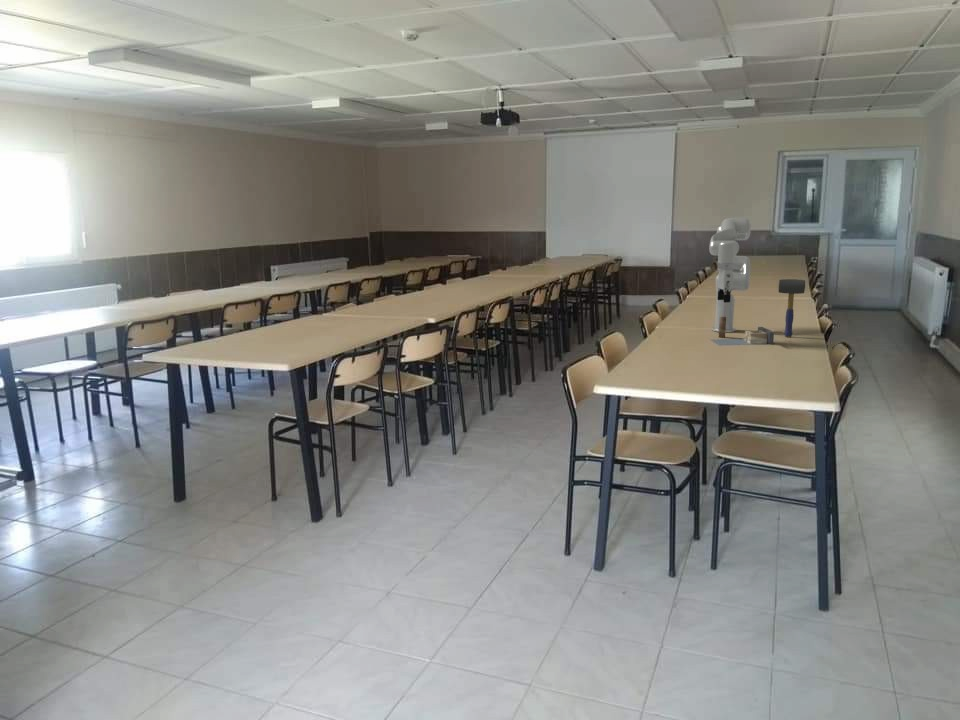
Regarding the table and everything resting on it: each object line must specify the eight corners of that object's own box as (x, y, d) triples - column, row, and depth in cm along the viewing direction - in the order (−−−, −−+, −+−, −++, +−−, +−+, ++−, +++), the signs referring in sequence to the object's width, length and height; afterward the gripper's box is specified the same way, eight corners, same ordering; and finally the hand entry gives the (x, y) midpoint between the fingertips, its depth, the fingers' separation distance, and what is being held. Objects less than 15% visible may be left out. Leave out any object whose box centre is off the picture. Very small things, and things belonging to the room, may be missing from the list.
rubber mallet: (801, 336, 365) (805, 278, 359) (801, 338, 358) (805, 280, 352) (775, 335, 370) (779, 278, 364) (774, 337, 363) (778, 279, 357)
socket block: (744, 340, 350) (745, 330, 349) (760, 340, 350) (761, 330, 348) (750, 343, 342) (750, 333, 341) (766, 343, 342) (767, 333, 341)
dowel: (717, 339, 361) (718, 316, 359) (723, 339, 361) (725, 316, 359) (719, 340, 358) (720, 317, 356) (725, 340, 358) (727, 317, 356)
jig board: (709, 342, 354) (710, 327, 353) (761, 341, 354) (762, 326, 353) (719, 348, 340) (719, 333, 338) (772, 347, 339) (774, 332, 338)
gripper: (739, 268, 343) (737, 303, 347) (727, 265, 360) (725, 298, 364) (723, 268, 343) (721, 303, 347) (712, 265, 360) (710, 299, 364)
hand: (723, 301), depth 355 cm, fingers open, 8 cm apart
